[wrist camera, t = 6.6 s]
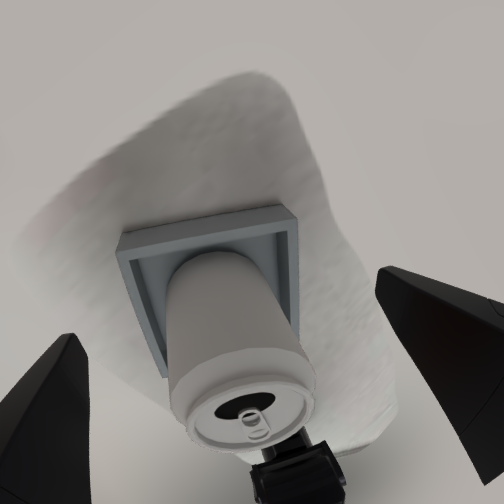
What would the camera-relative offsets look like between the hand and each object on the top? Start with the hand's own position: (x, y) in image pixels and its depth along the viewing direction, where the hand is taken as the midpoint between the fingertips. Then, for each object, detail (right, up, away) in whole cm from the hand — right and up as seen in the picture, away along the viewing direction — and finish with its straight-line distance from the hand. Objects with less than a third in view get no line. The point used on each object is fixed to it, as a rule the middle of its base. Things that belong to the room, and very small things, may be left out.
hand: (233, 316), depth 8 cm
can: (-2, -1, +15) cm, 15 cm away
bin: (-2, -1, +15) cm, 16 cm away
